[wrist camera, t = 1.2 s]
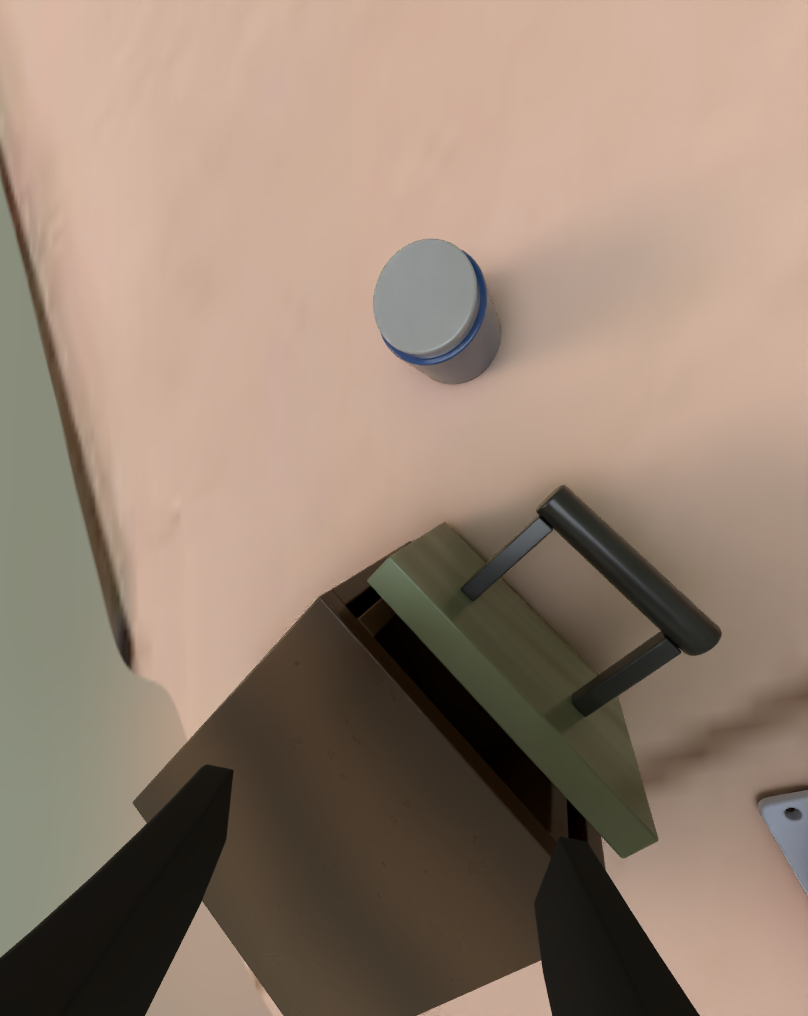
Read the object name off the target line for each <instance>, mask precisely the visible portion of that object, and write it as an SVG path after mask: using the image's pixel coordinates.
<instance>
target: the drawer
mask: <svg viewBox="0 0 808 1016" xmlns="http://www.w3.org/2000/svg"><path fill="white" fill-rule="evenodd" d="M536 512H537V513H538V514H539V515H538V516H537V517H536V518H535V519H534V520H532V521H531V522H530V523H529V524H528V525H527V526H526V527H525V528H524V529H523V530H522V531H521V532H519V533H518V534H517V535H516V536H515V537H514V538H513V539H512V540H511V541H510V542H509V543H508V544H507V545H505V546H504V547H503V548H502V549H501V550H500V551H499V552H498V553H497V554H496V555H495V556H494V557H493V558H491V559H490V560H489V561H488V562H487V563H485V562H484V561H483V560H482V559H481V558H480V557H479V556H478V555H477V554H476V553H475V552H474V551H473V550H472V549H471V548H470V547H469V546H468V545H467V544H466V543H465V542H464V541H463V540H462V539H461V538H460V537H459V536H458V535H457V534H456V533H455V532H454V531H453V530H452V529H451V528H450V527H449V526H448V525H447V524H446V523H445V522H444V523H442V524H440V525H439V526H437V527H435V528H434V529H432V530H431V531H429V532H428V533H426V534H424V535H423V536H421V537H420V538H418V539H416V540H415V541H413V542H412V543H410V544H408V545H407V546H405V547H404V548H402V549H401V550H399V551H397V552H396V553H394V554H393V555H391V556H389V557H388V558H387V559H386V560H385V562H384V563H383V564H382V565H381V566H380V567H379V568H378V569H377V570H376V571H375V572H374V573H373V574H372V575H371V576H370V577H369V578H368V580H367V582H368V583H369V584H370V586H371V587H372V588H373V589H374V590H375V591H376V592H377V593H378V594H379V595H380V596H381V597H382V598H380V599H379V600H378V601H377V602H376V603H374V604H373V605H372V606H371V607H370V608H369V609H367V610H366V611H365V612H364V613H363V614H361V615H360V616H359V617H358V618H357V619H358V621H359V622H360V623H361V624H362V625H363V626H364V627H365V628H366V629H367V631H368V632H369V633H370V634H371V635H372V636H373V637H374V638H375V639H376V641H377V642H378V643H379V644H380V645H381V646H382V647H383V648H384V650H385V651H386V652H387V653H388V654H389V655H390V656H391V657H392V658H393V660H394V661H395V662H396V663H397V664H398V665H399V666H400V667H401V668H402V670H403V671H404V672H405V673H406V674H407V675H408V676H409V677H410V678H411V680H412V681H413V682H414V683H415V684H416V685H417V686H418V687H419V689H420V690H421V691H422V692H423V693H424V694H425V695H426V696H427V697H428V699H429V700H430V701H431V702H432V703H433V704H434V705H435V706H436V707H437V709H438V710H439V711H440V712H441V713H442V714H443V715H444V716H445V717H446V719H447V720H448V721H449V722H450V723H451V724H452V725H453V726H454V727H455V729H456V730H457V731H458V732H459V733H460V734H461V735H462V736H463V738H464V739H465V740H466V741H467V742H468V743H469V744H470V745H471V746H472V748H473V749H474V750H475V751H476V752H477V753H478V754H479V755H480V756H481V758H482V759H483V760H484V761H485V762H486V763H487V764H488V765H489V766H490V768H491V769H492V770H493V771H494V772H495V773H496V774H497V775H498V777H499V778H500V779H501V780H502V781H503V782H504V783H505V784H506V785H507V787H508V788H509V789H510V790H511V791H512V792H513V793H514V794H515V795H516V797H517V798H518V799H519V800H520V801H521V802H522V803H523V804H524V805H525V807H526V808H527V809H528V810H529V811H530V812H531V813H532V814H533V815H534V817H535V818H536V819H537V820H538V821H539V822H540V823H541V824H542V826H543V827H544V828H545V829H546V830H547V831H548V832H549V833H550V834H551V836H552V837H553V838H554V839H555V840H556V841H557V842H558V839H559V837H560V836H561V837H566V838H569V836H568V815H567V799H568V800H569V802H570V803H571V804H572V805H573V806H574V807H575V808H576V809H577V810H578V811H579V812H580V814H581V815H582V816H583V817H584V818H585V819H586V820H587V821H588V822H589V823H590V824H591V825H592V827H593V828H594V829H595V830H596V831H597V832H598V833H599V834H600V835H601V836H602V837H603V838H604V840H605V841H606V842H607V843H608V844H609V845H610V846H611V847H612V848H613V849H614V850H615V852H616V853H617V854H618V855H619V856H620V857H621V858H626V857H628V856H630V855H632V854H634V853H636V852H638V851H639V850H641V849H643V848H645V847H647V846H649V845H651V844H653V843H655V842H657V841H658V836H657V832H656V829H655V825H654V821H653V818H652V814H651V811H650V807H649V804H648V800H647V797H646V793H645V790H644V786H643V782H642V779H641V775H640V772H639V768H638V765H637V761H636V758H635V754H634V751H633V747H632V743H631V740H630V736H629V733H628V729H627V726H626V722H625V719H624V715H623V711H622V708H621V704H620V701H619V697H618V695H620V694H621V693H623V692H624V691H626V690H627V689H629V688H630V687H632V686H633V685H635V684H636V683H638V682H639V681H641V680H642V679H644V678H645V677H647V676H648V675H650V674H651V673H652V672H654V671H655V670H657V669H658V668H660V667H661V666H663V665H664V664H666V663H667V662H669V661H670V660H672V659H673V658H675V657H676V656H678V655H679V654H680V653H681V651H680V649H681V650H682V651H683V652H684V653H685V654H688V655H691V656H696V655H700V654H703V653H705V652H707V651H709V650H710V649H712V648H713V647H714V646H715V645H716V644H717V643H718V642H719V640H720V638H721V635H722V633H721V630H720V628H719V627H718V626H717V625H716V624H715V623H714V622H713V621H712V620H711V619H710V618H709V617H708V616H707V615H705V614H704V613H703V612H702V611H701V610H700V609H699V608H698V607H697V606H696V605H695V604H694V603H692V602H691V601H690V600H689V599H688V598H687V597H686V596H685V595H684V594H683V593H682V592H681V591H679V590H678V589H677V588H676V587H675V586H674V585H673V584H672V583H671V582H670V581H669V580H668V579H666V578H665V577H664V576H663V575H662V574H661V573H660V572H659V571H658V570H657V569H656V568H654V567H653V566H652V565H651V564H650V563H649V562H648V561H647V560H646V559H645V558H644V557H643V556H641V555H640V554H639V553H638V552H637V551H636V550H635V549H634V548H633V547H632V546H631V545H630V544H628V543H627V542H626V541H625V540H624V539H623V538H622V537H621V536H620V535H619V534H618V533H617V532H615V531H614V530H613V529H612V528H611V527H610V526H609V525H608V524H607V523H606V522H605V521H604V520H602V519H601V518H600V517H599V516H598V515H597V514H596V513H595V512H594V511H593V510H592V509H591V508H589V507H588V506H587V505H586V504H585V503H584V502H583V501H582V500H581V499H580V498H579V497H578V496H576V495H575V494H574V493H573V492H572V491H571V490H570V489H569V488H568V487H567V486H565V485H562V486H560V487H558V488H557V489H556V490H555V491H554V492H552V493H551V494H550V495H549V496H548V497H547V498H546V499H545V500H544V501H543V502H542V503H541V504H540V505H539V506H538V508H537V509H536ZM553 529H554V530H555V531H557V532H558V533H559V534H560V535H561V536H562V537H563V538H564V539H565V540H566V541H567V542H568V543H569V544H570V545H571V546H572V547H573V548H574V549H575V550H577V551H578V552H579V553H580V554H581V555H582V556H583V557H584V558H585V559H586V560H587V561H588V562H589V563H590V564H591V565H592V566H593V567H594V568H595V569H596V570H598V571H599V572H600V573H601V574H602V575H603V576H604V577H605V578H606V579H607V580H608V581H609V582H610V583H611V584H612V585H613V586H614V587H615V588H616V589H618V590H619V591H620V592H621V593H622V594H623V595H624V596H625V597H626V598H627V599H628V600H629V601H630V602H631V603H632V604H633V605H634V606H635V607H636V608H638V609H639V610H640V611H641V612H642V613H643V614H644V615H645V616H646V617H647V618H648V619H649V620H650V621H651V622H652V623H653V624H654V625H655V626H656V627H657V628H659V629H660V630H661V632H659V633H657V634H656V635H655V636H653V637H652V638H650V639H649V640H648V641H646V642H645V643H643V644H642V645H640V646H639V647H638V648H636V649H635V650H633V651H632V652H631V653H629V654H628V655H626V656H625V657H624V658H622V659H621V660H619V661H618V662H616V663H615V664H614V665H612V666H611V667H609V668H608V669H607V670H605V671H604V672H602V673H601V674H600V675H597V674H596V673H595V672H594V671H593V670H592V669H591V668H590V667H589V666H588V665H587V664H586V663H585V662H584V661H583V660H582V659H581V658H580V657H579V656H578V655H577V654H576V653H575V652H574V651H573V650H572V649H571V648H570V647H569V646H568V645H567V644H566V643H565V642H564V641H563V640H562V639H561V638H560V637H559V636H558V635H557V634H556V633H555V632H554V631H553V630H552V629H551V628H550V627H549V626H548V625H547V624H546V623H545V622H544V621H543V620H542V619H541V618H540V617H539V616H538V615H537V614H536V613H535V612H534V611H533V610H532V609H531V608H530V607H529V606H528V605H527V604H526V603H525V602H524V601H523V600H522V599H521V598H520V597H519V596H518V595H517V594H516V593H515V592H514V591H513V590H512V589H511V588H510V587H509V586H508V585H507V584H506V583H505V582H504V581H503V580H502V579H501V578H500V577H501V576H503V575H504V574H505V573H506V572H507V571H508V570H509V569H510V568H511V567H513V566H514V565H515V564H516V563H517V562H518V561H519V560H520V559H521V558H523V557H524V556H525V555H526V554H527V553H528V552H529V551H530V550H532V549H533V548H534V547H535V546H536V545H537V544H538V543H539V542H540V541H542V540H543V539H544V538H545V537H546V536H547V535H548V534H549V533H550V532H552V530H553ZM678 647H679V648H680V649H679V648H678Z"/></svg>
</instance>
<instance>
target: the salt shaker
mask: <svg viewBox="0 0 808 1016" xmlns="http://www.w3.org/2000/svg"><path fill="white" fill-rule="evenodd" d="M373 308H374V316H375V320H376V323H377V326H378V328H379V331H380V333H381V335H382V338H383V340H384V342H385V343H386V345H387V346H388V348H389V349H390V350H391V351H392V352H393V353H394V354H395V355H396V356H397V357H399V358H400V359H402V360H404V361H405V362H407V363H408V364H410V365H411V366H413V367H414V368H416V369H418V370H419V371H421V372H422V373H424V374H425V375H427V376H428V377H430V378H431V379H433V380H435V381H437V382H440V383H444V384H460V383H464V382H467V381H469V380H472V379H473V378H475V377H477V376H478V375H479V374H481V373H482V372H483V371H484V370H485V369H486V368H487V367H488V366H489V365H490V363H491V362H492V360H493V359H494V357H495V355H496V353H497V350H498V347H499V344H500V339H501V325H500V320H499V316H498V313H497V311H496V308H495V305H494V303H493V300H492V297H491V295H490V292H489V289H488V287H487V284H486V281H485V279H484V276H483V274H482V271H481V269H480V267H479V266H478V264H477V263H476V262H475V260H474V259H473V258H472V257H471V256H470V255H468V254H467V253H466V252H465V251H463V250H461V249H459V248H458V247H457V246H455V245H453V244H451V243H450V242H447V241H444V240H439V239H423V240H419V241H415V242H413V243H411V244H409V245H407V246H405V247H403V248H402V249H401V250H399V251H398V252H397V253H396V254H395V255H394V256H392V257H391V259H390V260H389V261H388V262H387V264H386V265H385V267H384V268H383V270H382V272H381V274H380V276H379V278H378V281H377V283H376V287H375V291H374V299H373Z"/></svg>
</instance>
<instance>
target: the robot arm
mask: <svg viewBox="0 0 808 1016" xmlns="http://www.w3.org/2000/svg"><path fill="white" fill-rule="evenodd" d="M233 772H234V770H233V769H228V768H223V767H218V766H213V765H208V764H206V765H204V766H202V767H201V768H200V769H199V770H198V771H197V772H196V773H195V774H194V775H193V776H192V778H191V779H190V780H189V781H188V782H187V783H186V784H185V785H184V786H183V787H182V788H181V789H180V790H179V791H178V792H177V793H176V795H175V796H174V797H173V798H172V799H171V800H170V801H169V802H168V803H167V804H166V805H165V806H164V807H163V808H162V809H161V810H160V811H159V812H158V813H157V814H156V815H155V816H154V817H153V818H152V819H151V820H150V821H149V822H148V823H147V824H146V825H145V826H144V827H143V828H142V829H141V830H140V831H139V832H138V833H137V834H136V835H135V836H134V837H133V838H132V839H131V840H130V841H129V842H128V843H127V844H125V845H124V846H123V847H122V848H121V849H120V850H119V851H118V852H117V853H116V854H115V855H114V856H113V857H112V858H111V859H110V860H109V861H108V862H107V863H106V864H105V865H104V866H103V867H102V868H101V869H99V870H98V872H96V873H95V874H94V875H93V876H92V877H91V878H90V879H89V880H88V881H87V882H85V883H84V884H83V885H82V886H81V887H80V888H79V889H78V890H77V891H75V893H73V894H72V895H71V896H70V897H69V898H68V899H67V900H66V901H64V902H63V903H62V904H61V905H60V906H59V907H58V908H57V909H56V910H54V911H53V912H52V913H51V914H50V915H49V916H48V917H47V918H45V919H44V920H43V921H42V922H41V923H40V924H39V925H38V926H37V927H35V928H34V929H33V930H32V931H31V932H30V933H29V934H27V935H26V936H25V937H24V938H23V939H22V940H20V941H19V942H18V943H17V944H16V945H15V946H13V947H12V948H11V949H10V950H9V951H8V952H6V953H5V954H4V955H3V956H2V957H1V958H0V1016H145V1014H146V1012H147V1010H148V1008H149V1006H150V1004H151V1002H152V1000H153V998H154V996H155V994H156V992H157V990H158V988H159V986H160V984H161V982H162V980H163V978H164V976H165V974H166V972H167V970H168V968H169V966H170V964H171V962H172V960H173V958H174V956H175V954H176V952H177V950H178V948H179V946H180V944H181V942H182V940H183V938H184V936H185V934H186V932H187V930H188V928H189V926H190V924H191V922H192V920H193V918H194V916H195V914H196V912H197V910H198V908H199V906H200V904H201V901H202V899H203V897H204V894H205V892H206V889H207V887H208V884H209V882H210V880H211V877H212V875H213V872H214V870H215V867H216V865H217V862H218V860H219V857H220V855H221V852H222V850H223V847H224V845H225V842H226V839H227V829H228V820H229V810H230V801H231V791H232V782H233ZM789 807H790V808H796V809H795V810H794V811H792V812H786V811H785V810H786V809H787V808H789ZM758 810H759V812H760V814H761V816H762V818H763V819H764V821H765V823H766V825H767V826H768V828H769V830H770V832H771V833H772V835H773V837H774V839H775V840H776V842H777V844H778V846H779V847H780V849H781V851H782V853H783V854H784V856H785V858H786V860H787V861H788V863H789V865H790V867H791V868H792V870H793V872H794V874H795V875H796V877H797V879H798V881H799V883H800V884H801V886H802V888H803V890H804V891H805V893H806V895H807V897H808V790H804V791H799V792H793V793H788V794H782V795H777V796H771V797H766V798H764V799H761V800H760V802H759V803H758ZM534 908H535V916H536V924H537V932H538V940H539V947H540V954H541V961H542V968H543V974H544V979H545V983H546V988H547V993H548V998H549V1002H550V1007H551V1011H552V1016H700V1015H699V1014H698V1012H697V1011H696V1009H695V1008H694V1006H693V1005H692V1003H691V1002H690V1000H689V999H688V997H687V996H686V994H685V993H684V991H683V990H682V988H681V987H680V985H679V984H678V982H677V981H676V979H675V978H674V976H673V975H672V973H671V972H670V970H669V969H668V967H667V966H666V964H665V963H664V961H663V960H662V958H661V957H660V955H659V954H658V952H657V950H656V949H655V947H654V946H653V944H652V943H651V941H650V940H649V938H648V937H647V935H646V933H645V932H644V930H643V929H642V927H641V926H640V924H639V922H638V921H637V919H636V918H635V916H634V915H633V913H632V911H631V910H630V908H629V907H628V905H627V904H626V902H625V900H624V899H623V897H622V896H621V894H620V893H619V891H618V889H617V888H616V886H615V885H614V883H613V881H612V880H611V878H610V877H609V875H608V874H607V872H606V870H605V869H604V867H603V866H602V864H601V862H600V861H599V859H598V858H597V856H596V855H595V853H594V851H593V850H592V848H591V847H590V845H589V844H588V842H586V841H581V840H576V839H571V838H566V837H561V836H560V837H559V839H558V842H557V844H556V847H555V850H554V852H553V855H552V857H551V860H550V863H549V865H548V868H547V870H546V873H545V876H544V878H543V881H542V883H541V886H540V889H539V891H538V894H537V896H536V899H535V902H534Z"/></svg>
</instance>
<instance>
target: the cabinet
mask: <svg viewBox="0 0 808 1016" xmlns="http://www.w3.org/2000/svg"><path fill="white" fill-rule="evenodd" d="M410 543H412V542H411V541H410V542H408V543H406V544H405V545H403V546H401V547H400V548H398V549H397V550H395V551H393V552H392V553H390V554H388V555H387V556H385V557H383V558H382V559H380V560H379V561H377V562H375V563H374V564H372V565H370V566H369V567H367V568H366V569H364V570H362V571H361V572H359V573H357V574H356V575H354V576H352V577H351V578H349V579H348V580H346V581H344V582H343V583H341V584H339V585H338V586H336V587H335V588H333V589H331V590H330V591H328V592H326V593H325V594H323V595H321V596H320V597H319V598H318V599H317V600H316V601H315V602H314V603H313V604H312V605H311V606H310V607H309V609H308V610H307V611H306V612H305V613H304V614H303V615H302V616H301V617H300V618H299V620H298V621H297V622H296V623H295V624H294V625H293V626H292V627H291V628H290V629H289V631H288V632H287V633H286V634H285V635H284V636H283V637H282V638H281V639H280V640H279V642H278V643H277V644H276V645H275V646H274V647H273V648H272V649H271V650H270V651H269V653H268V654H267V655H266V656H265V657H264V658H263V659H262V660H261V661H260V662H259V664H258V665H257V666H256V667H255V668H254V669H253V670H252V671H251V672H250V673H249V675H248V676H247V677H246V678H245V679H244V680H243V681H242V682H241V683H240V684H239V686H238V687H237V688H236V689H235V690H234V691H233V692H232V693H231V694H230V695H229V697H228V698H227V699H226V700H225V701H224V702H223V703H222V704H221V705H220V706H219V708H218V709H217V710H216V711H215V712H214V713H213V714H212V715H211V716H210V717H209V719H208V720H207V721H206V722H205V723H204V724H203V725H202V726H201V727H200V728H199V730H198V731H197V732H196V733H195V734H194V735H193V736H192V737H191V738H190V739H189V741H188V742H187V743H186V744H185V745H184V746H183V747H182V748H181V749H180V750H179V752H178V753H177V754H176V755H175V756H174V757H173V758H172V759H171V761H169V763H168V764H167V765H166V766H165V767H164V768H163V769H162V770H161V772H159V774H158V775H157V776H156V777H155V778H154V779H153V780H152V781H151V783H150V784H149V785H148V786H147V787H146V788H145V789H144V790H143V791H142V792H141V793H140V794H139V796H138V797H137V798H136V799H135V800H134V801H133V804H134V806H135V807H136V808H137V810H138V811H139V813H140V814H141V815H142V817H143V818H144V819H145V821H146V823H148V822H149V821H150V820H151V819H152V818H153V817H154V816H155V815H156V814H157V813H158V812H159V811H160V810H161V809H162V808H163V807H164V806H165V805H166V804H167V803H168V802H169V801H170V800H171V799H172V798H173V797H174V796H175V795H176V793H177V792H178V791H179V790H180V789H181V788H182V787H183V786H184V785H185V784H186V783H187V782H188V781H189V780H190V779H191V778H192V776H193V775H194V774H195V773H196V772H197V771H198V770H199V769H200V768H201V767H202V766H204V765H206V764H208V765H213V766H218V767H223V768H228V769H233V770H234V772H233V782H232V791H231V801H230V810H229V820H228V829H227V839H226V842H225V845H224V847H223V850H222V852H221V855H220V857H219V860H218V862H217V865H216V867H215V870H214V872H213V875H212V877H211V880H210V882H209V884H208V887H207V889H206V892H205V894H204V897H203V899H202V901H203V903H204V904H205V906H206V907H207V908H208V910H209V911H210V913H211V914H212V915H213V917H214V918H215V920H216V921H217V923H218V924H219V925H220V927H221V928H222V930H223V931H224V932H225V934H226V935H227V937H228V938H229V939H230V941H231V942H232V944H233V945H234V946H235V947H236V949H237V951H238V952H239V954H240V955H241V956H242V958H243V959H244V961H245V962H246V963H247V965H248V966H249V968H250V969H251V970H252V972H253V973H254V975H255V976H256V977H257V979H258V980H259V982H260V983H261V985H262V986H263V987H264V989H265V990H266V992H267V993H268V994H269V996H270V997H271V999H272V1000H273V1001H274V1003H275V1004H276V1006H277V1007H278V1008H279V1010H280V1011H281V1013H282V1014H283V1015H284V1016H417V1015H419V1014H421V1013H424V1012H426V1011H428V1010H430V1009H432V1008H435V1007H437V1006H439V1005H441V1004H444V1003H446V1002H448V1001H450V1000H453V999H455V998H457V997H459V996H462V995H464V994H466V993H468V992H471V991H473V990H475V989H477V988H480V987H482V986H484V985H486V984H489V983H491V982H493V981H495V980H498V979H500V978H502V977H504V976H507V975H509V974H511V973H513V972H516V971H518V970H520V969H522V968H524V967H527V966H529V965H531V964H533V963H536V962H538V961H540V960H541V954H540V947H539V940H538V932H537V924H536V916H535V908H534V902H535V899H536V896H537V894H538V891H539V889H540V886H541V883H542V881H543V878H544V876H545V873H546V870H547V868H548V865H549V863H550V860H551V857H552V855H553V852H554V850H555V847H556V844H557V841H556V840H555V839H554V838H553V837H552V836H551V834H550V833H549V832H548V831H547V830H546V829H545V828H544V827H543V826H542V824H541V823H540V822H539V821H538V820H537V819H536V818H535V817H534V815H533V814H532V813H531V812H530V811H529V810H528V809H527V808H526V807H525V805H524V804H523V803H522V802H521V801H520V800H519V799H518V798H517V797H516V795H515V794H514V793H513V792H512V791H511V790H510V789H509V788H508V787H507V785H506V784H505V783H504V782H503V781H502V780H501V779H500V778H499V777H498V775H497V774H496V773H495V772H494V771H493V770H492V769H491V768H490V766H489V765H488V764H487V763H486V762H485V761H484V760H483V759H482V758H481V756H480V755H479V754H478V753H477V752H476V751H475V750H474V749H473V748H472V746H471V745H470V744H469V743H468V742H467V741H466V740H465V739H464V738H463V736H462V735H461V734H460V733H459V732H458V731H457V730H456V729H455V727H454V726H453V725H452V724H451V723H450V722H449V721H448V720H447V719H446V717H445V716H444V715H443V714H442V713H441V712H440V711H439V710H438V709H437V707H436V706H435V705H434V704H433V703H432V702H431V701H430V700H429V699H428V697H427V696H426V695H425V694H424V693H423V692H422V691H421V690H420V689H419V687H418V686H417V685H416V684H415V683H414V682H413V681H412V680H411V678H410V677H409V676H408V675H407V674H406V673H405V672H404V671H403V670H402V668H401V667H400V666H399V665H398V664H397V663H396V662H395V661H394V660H393V658H392V657H391V656H390V655H389V654H388V653H387V652H386V651H385V650H384V648H383V647H382V646H381V645H380V644H379V643H378V642H377V641H376V639H375V638H374V637H373V636H372V635H371V634H370V633H369V632H368V631H367V629H366V628H365V627H364V626H363V625H362V624H361V623H360V622H359V621H358V619H357V618H358V617H359V616H360V615H361V614H363V613H364V612H365V611H366V610H367V609H369V608H370V607H371V606H372V605H373V604H374V603H376V602H377V601H378V600H379V599H380V598H382V597H381V596H380V595H379V594H378V593H377V592H376V591H375V590H374V589H373V588H372V587H371V586H370V584H369V583H368V582H367V580H368V578H369V577H370V576H371V575H372V574H373V573H374V572H375V571H376V570H377V569H378V568H379V567H380V566H381V565H382V564H383V563H384V562H385V560H386V559H387V558H388V557H389V556H391V555H393V554H394V553H396V552H397V551H399V550H401V549H402V548H404V547H405V546H407V545H408V544H410ZM567 815H568V836H569V838H571V839H576V840H581V841H586V842H588V844H589V845H590V847H591V848H592V850H593V851H594V853H595V855H596V856H597V858H598V859H599V861H600V862H601V864H602V866H603V867H604V869H605V862H604V855H603V847H602V840H601V835H600V834H599V833H598V832H597V831H596V830H595V829H594V828H593V827H592V825H591V824H590V823H589V822H588V821H587V820H586V819H585V818H584V817H583V816H582V815H581V814H580V812H579V811H578V810H577V809H576V808H575V807H574V806H573V805H572V804H571V803H570V802H569V800H568V799H567Z"/></svg>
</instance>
